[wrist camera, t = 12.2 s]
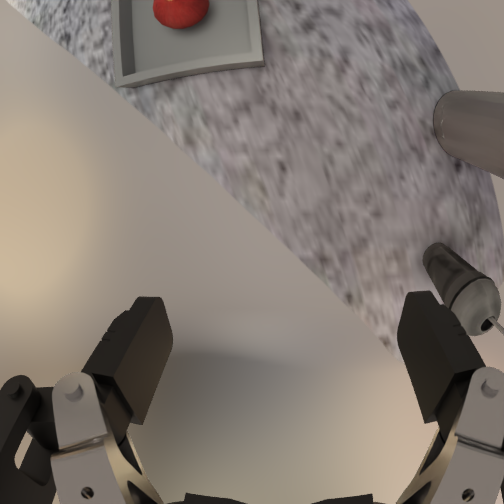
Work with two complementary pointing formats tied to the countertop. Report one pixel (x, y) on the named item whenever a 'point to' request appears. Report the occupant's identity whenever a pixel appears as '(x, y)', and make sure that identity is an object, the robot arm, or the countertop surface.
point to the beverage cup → (464, 290)
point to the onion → (180, 12)
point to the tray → (183, 42)
